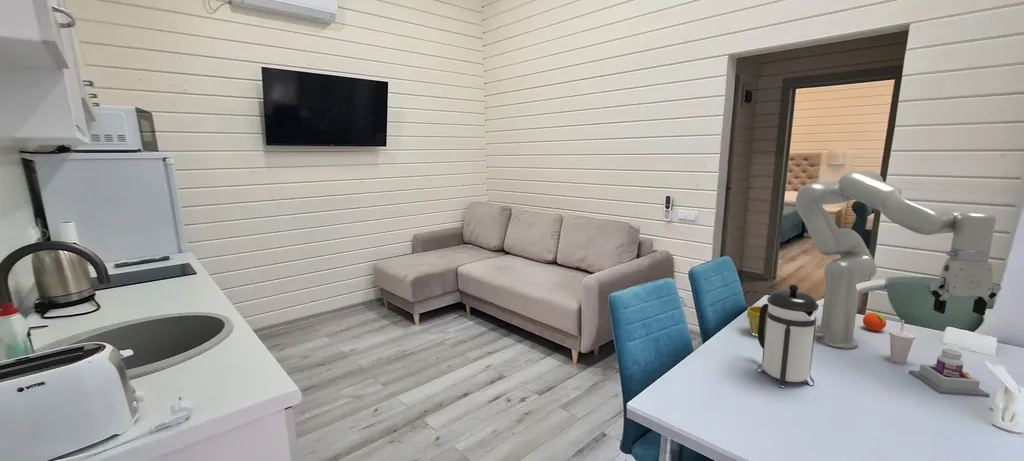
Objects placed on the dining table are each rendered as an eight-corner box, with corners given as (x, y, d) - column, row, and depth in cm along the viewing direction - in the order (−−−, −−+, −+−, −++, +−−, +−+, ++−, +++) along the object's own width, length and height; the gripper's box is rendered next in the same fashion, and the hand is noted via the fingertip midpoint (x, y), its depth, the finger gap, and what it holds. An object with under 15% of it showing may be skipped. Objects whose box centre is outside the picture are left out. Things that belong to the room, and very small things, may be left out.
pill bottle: (943, 385, 123) (948, 354, 121) (929, 376, 128) (934, 346, 126) (965, 387, 122) (970, 356, 120) (950, 377, 127) (955, 347, 125)
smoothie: (904, 357, 141) (911, 318, 139) (915, 366, 135) (922, 325, 133) (881, 355, 143) (887, 316, 141) (891, 364, 137) (897, 323, 135)
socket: (939, 393, 120) (942, 380, 120) (908, 372, 132) (910, 360, 131) (989, 397, 118) (992, 383, 117) (953, 375, 130) (955, 362, 129)
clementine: (892, 335, 159) (895, 317, 158) (873, 335, 159) (876, 317, 158) (874, 326, 167) (877, 309, 166) (857, 326, 167) (859, 309, 166)
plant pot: (757, 327, 168) (759, 304, 166) (783, 337, 159) (785, 312, 157) (739, 332, 164) (741, 308, 162) (764, 342, 155) (766, 317, 153)
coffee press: (818, 375, 131) (829, 283, 126) (809, 396, 120) (820, 296, 115) (755, 358, 143) (763, 273, 138) (742, 376, 132) (750, 284, 126)
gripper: (943, 257, 116) (933, 316, 119) (1018, 259, 113) (1006, 319, 116) (923, 251, 124) (914, 306, 127) (993, 253, 120) (982, 309, 124)
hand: (958, 312), depth 121 cm, fingers open, 9 cm apart
